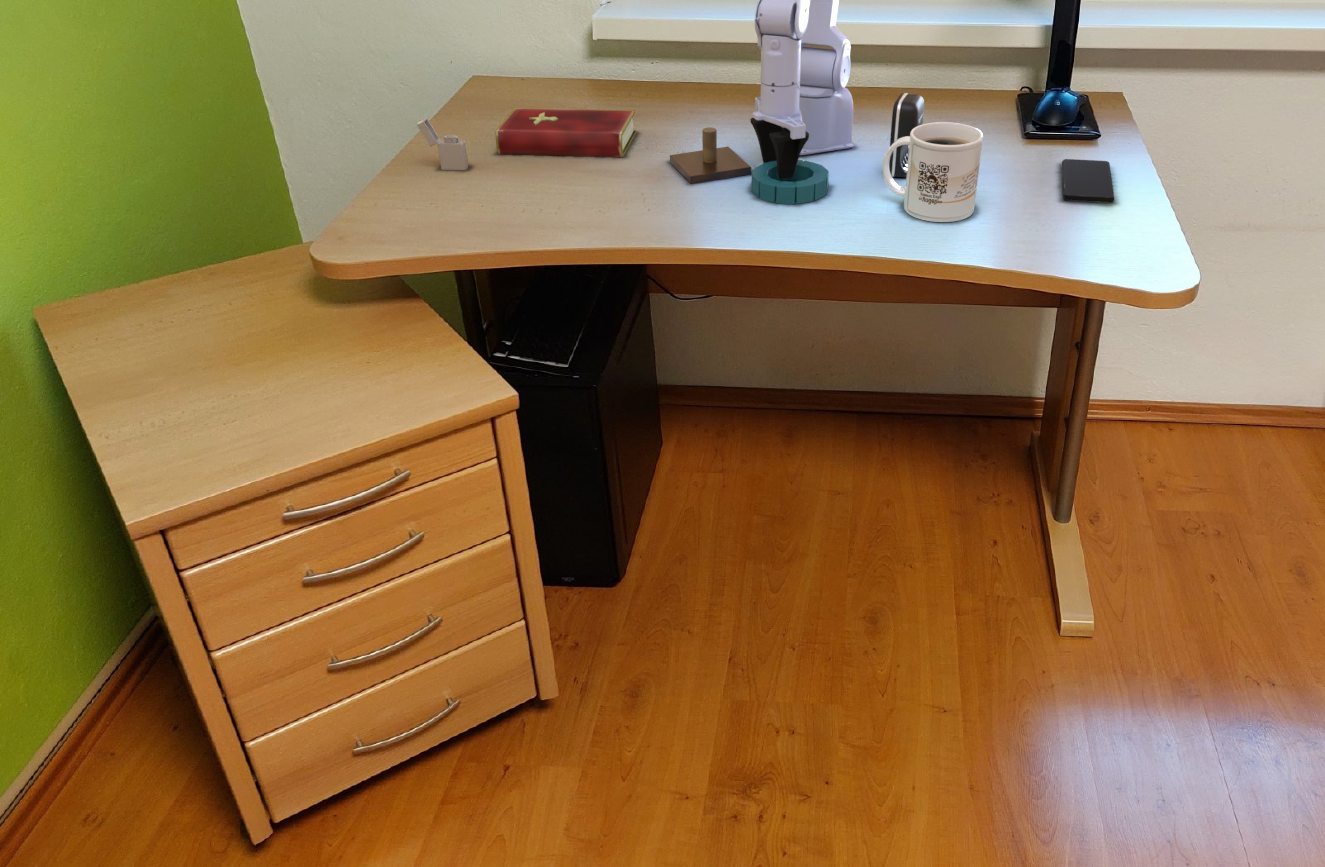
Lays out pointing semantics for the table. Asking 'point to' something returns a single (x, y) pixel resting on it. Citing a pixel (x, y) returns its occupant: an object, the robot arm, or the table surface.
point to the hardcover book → (566, 132)
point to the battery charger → (904, 129)
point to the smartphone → (1087, 180)
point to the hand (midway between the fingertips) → (778, 170)
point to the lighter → (446, 147)
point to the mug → (939, 171)
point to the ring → (790, 183)
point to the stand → (710, 161)
